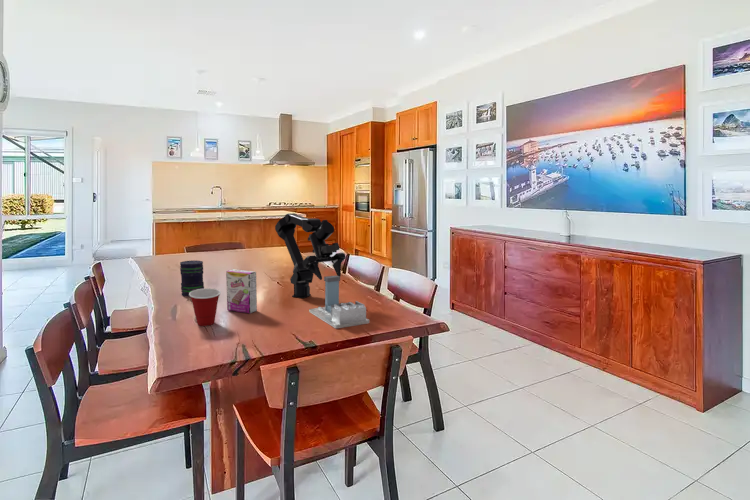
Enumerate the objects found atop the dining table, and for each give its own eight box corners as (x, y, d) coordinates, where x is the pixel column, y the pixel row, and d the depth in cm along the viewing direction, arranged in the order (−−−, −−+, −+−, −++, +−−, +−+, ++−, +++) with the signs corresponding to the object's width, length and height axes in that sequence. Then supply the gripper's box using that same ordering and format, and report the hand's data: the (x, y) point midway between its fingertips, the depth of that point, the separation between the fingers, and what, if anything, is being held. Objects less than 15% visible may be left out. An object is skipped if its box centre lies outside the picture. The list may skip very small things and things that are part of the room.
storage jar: (208, 293, 203) (207, 261, 201) (190, 297, 195) (188, 264, 193) (195, 290, 208) (194, 259, 206) (176, 294, 200) (175, 262, 198)
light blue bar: (324, 310, 174) (324, 276, 172) (336, 308, 177) (336, 275, 175) (332, 314, 168) (332, 280, 166) (345, 312, 171) (345, 278, 169)
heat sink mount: (309, 312, 176) (309, 294, 175) (340, 307, 183) (340, 290, 182) (335, 328, 156) (335, 308, 155) (369, 323, 163) (369, 303, 162)
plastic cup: (191, 330, 152) (190, 296, 150) (188, 321, 161) (187, 289, 159) (224, 326, 157) (223, 293, 155) (219, 318, 166) (218, 287, 164)
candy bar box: (226, 311, 175) (225, 271, 173) (234, 307, 180) (233, 268, 178) (250, 314, 172) (249, 273, 169) (257, 310, 176) (256, 271, 174)
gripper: (308, 237, 175) (320, 272, 170) (346, 234, 187) (358, 267, 182) (297, 250, 183) (308, 283, 178) (333, 246, 194) (345, 278, 190)
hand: (330, 278), depth 181 cm, fingers open, 9 cm apart
